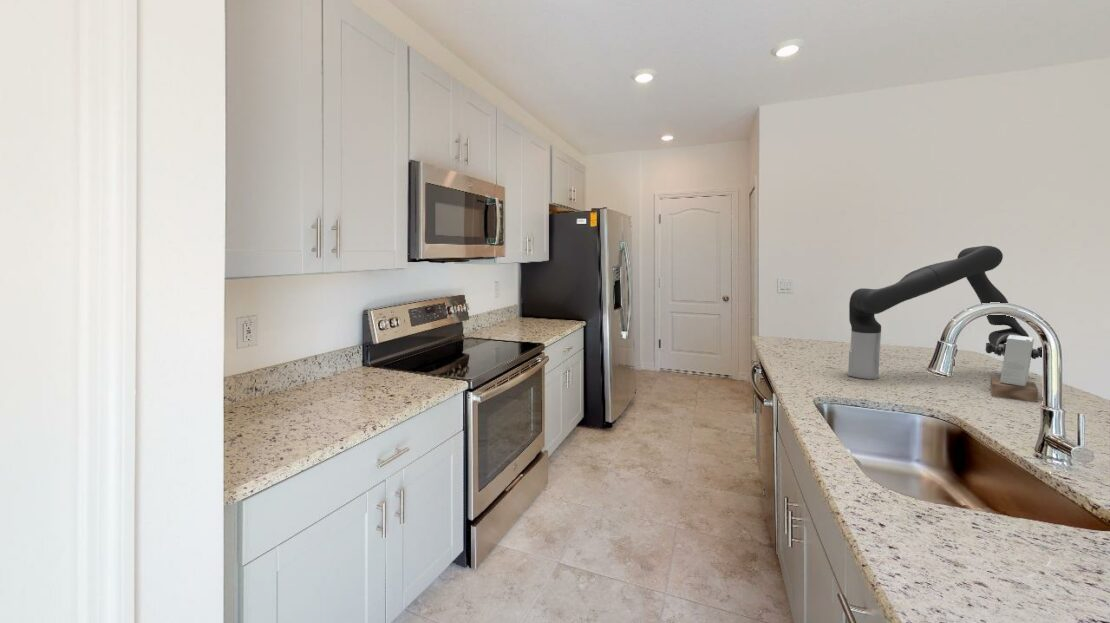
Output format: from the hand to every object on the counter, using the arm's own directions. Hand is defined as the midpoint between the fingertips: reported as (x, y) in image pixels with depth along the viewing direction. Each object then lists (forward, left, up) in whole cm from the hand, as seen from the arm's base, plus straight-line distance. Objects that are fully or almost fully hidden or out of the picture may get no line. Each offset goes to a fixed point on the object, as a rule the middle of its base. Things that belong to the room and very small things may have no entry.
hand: (1016, 354), depth 143 cm
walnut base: (0, +2, -14) cm, 14 cm away
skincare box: (0, +2, -10) cm, 10 cm away
